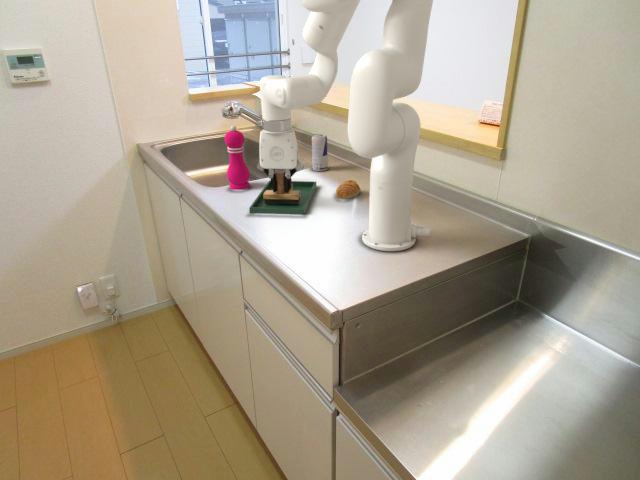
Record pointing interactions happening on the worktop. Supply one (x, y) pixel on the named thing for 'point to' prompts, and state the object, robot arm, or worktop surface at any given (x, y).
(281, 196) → the brush
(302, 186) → the tray
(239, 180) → the pepper mill
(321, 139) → the energy drink
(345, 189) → the pastry
